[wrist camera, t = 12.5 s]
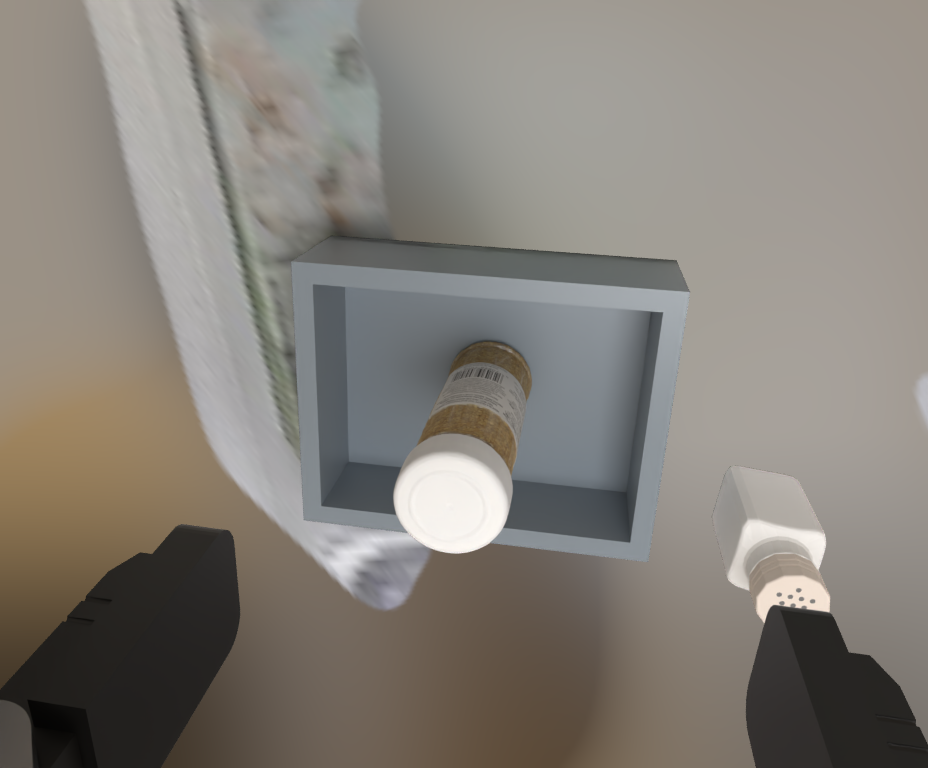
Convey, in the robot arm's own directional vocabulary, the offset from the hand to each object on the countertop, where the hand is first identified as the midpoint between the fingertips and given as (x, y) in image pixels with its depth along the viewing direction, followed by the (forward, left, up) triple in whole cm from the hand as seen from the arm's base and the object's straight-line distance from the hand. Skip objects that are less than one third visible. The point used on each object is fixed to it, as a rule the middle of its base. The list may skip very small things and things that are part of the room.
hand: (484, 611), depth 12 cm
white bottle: (+14, +12, -30) cm, 36 cm away
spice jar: (+8, -3, -29) cm, 31 cm away
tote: (+8, -3, -30) cm, 31 cm away
